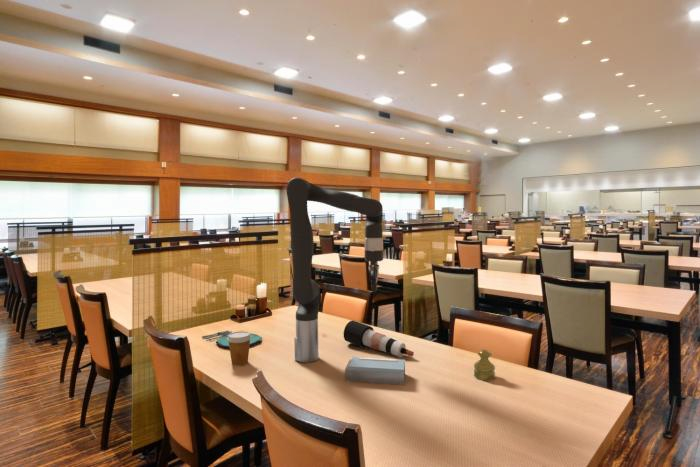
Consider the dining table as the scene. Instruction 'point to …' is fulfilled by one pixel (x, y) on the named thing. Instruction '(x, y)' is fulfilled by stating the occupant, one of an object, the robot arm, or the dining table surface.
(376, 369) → the cover
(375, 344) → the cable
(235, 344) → the disposable coffee cup
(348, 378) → the grey rectangular box
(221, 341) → the cutlery set
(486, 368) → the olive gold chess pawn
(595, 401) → the dining table surface
